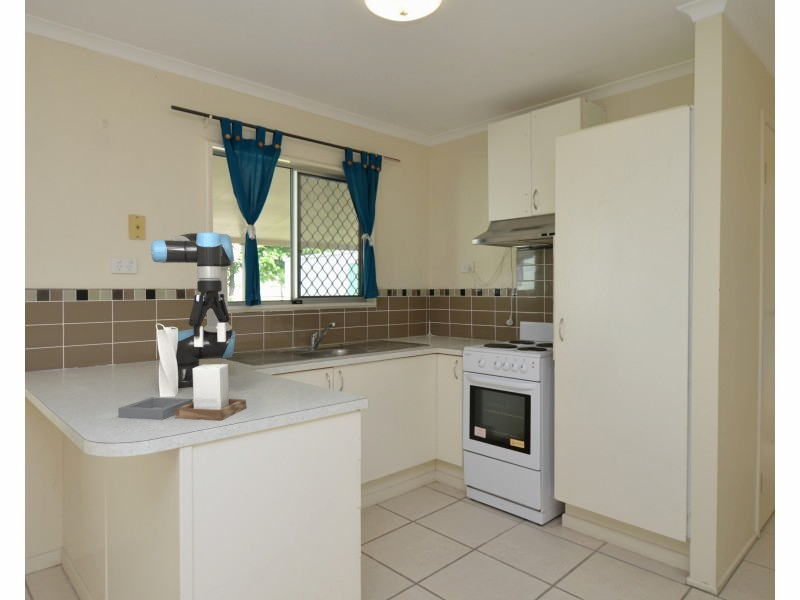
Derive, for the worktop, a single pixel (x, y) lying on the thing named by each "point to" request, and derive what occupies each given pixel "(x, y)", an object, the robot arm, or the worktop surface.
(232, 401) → the tray
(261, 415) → the worktop surface
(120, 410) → the gray square tray
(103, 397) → the worktop surface
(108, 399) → the worktop surface
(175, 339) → the skyscraper
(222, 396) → the supplement box
